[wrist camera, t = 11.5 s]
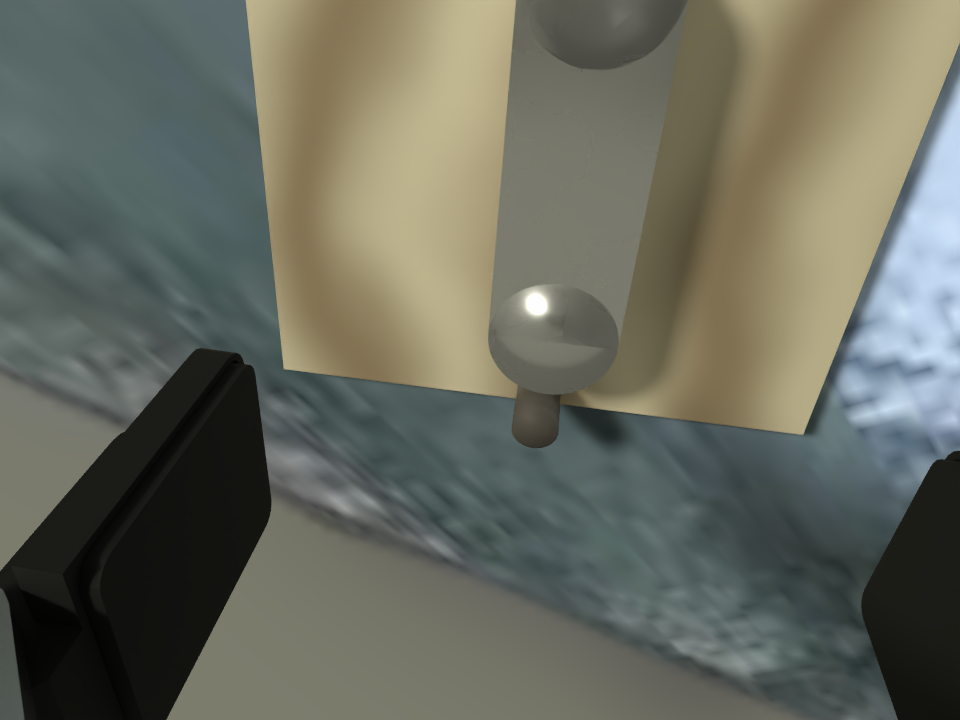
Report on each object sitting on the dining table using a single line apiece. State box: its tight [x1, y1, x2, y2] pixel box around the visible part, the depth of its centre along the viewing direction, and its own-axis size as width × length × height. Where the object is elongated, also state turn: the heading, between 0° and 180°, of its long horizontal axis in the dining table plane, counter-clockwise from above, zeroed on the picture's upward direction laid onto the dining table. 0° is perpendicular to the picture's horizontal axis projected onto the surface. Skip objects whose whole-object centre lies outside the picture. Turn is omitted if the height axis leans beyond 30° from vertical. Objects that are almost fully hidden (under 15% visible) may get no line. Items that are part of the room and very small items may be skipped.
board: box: [246, 0, 960, 448], centre depth 22 cm, size 20×20×4 cm
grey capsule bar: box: [488, 0, 688, 395], centre depth 21 cm, size 4×14×4 cm, turn 176°
